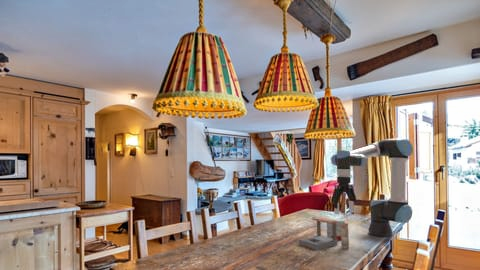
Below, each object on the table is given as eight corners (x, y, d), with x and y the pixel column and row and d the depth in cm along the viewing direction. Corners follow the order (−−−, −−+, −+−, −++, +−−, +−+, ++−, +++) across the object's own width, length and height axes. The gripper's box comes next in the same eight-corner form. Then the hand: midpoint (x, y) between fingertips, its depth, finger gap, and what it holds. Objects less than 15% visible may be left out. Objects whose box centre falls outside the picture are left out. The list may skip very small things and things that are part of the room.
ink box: (346, 239, 195) (345, 220, 196) (335, 240, 192) (334, 221, 193) (337, 236, 203) (336, 218, 204) (326, 237, 200) (326, 219, 201)
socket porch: (318, 239, 194) (318, 217, 195) (337, 244, 182) (336, 220, 184) (298, 244, 183) (298, 220, 185) (317, 250, 172) (316, 224, 173)
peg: (344, 246, 178) (343, 222, 179) (350, 248, 175) (349, 223, 176) (340, 248, 176) (339, 223, 177) (346, 249, 173) (345, 224, 174)
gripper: (351, 175, 189) (351, 210, 187) (324, 176, 175) (324, 214, 173) (362, 176, 183) (362, 212, 181) (335, 177, 169) (335, 216, 167)
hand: (344, 213), depth 177 cm, fingers open, 13 cm apart
